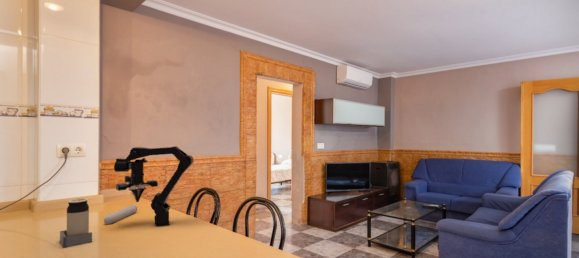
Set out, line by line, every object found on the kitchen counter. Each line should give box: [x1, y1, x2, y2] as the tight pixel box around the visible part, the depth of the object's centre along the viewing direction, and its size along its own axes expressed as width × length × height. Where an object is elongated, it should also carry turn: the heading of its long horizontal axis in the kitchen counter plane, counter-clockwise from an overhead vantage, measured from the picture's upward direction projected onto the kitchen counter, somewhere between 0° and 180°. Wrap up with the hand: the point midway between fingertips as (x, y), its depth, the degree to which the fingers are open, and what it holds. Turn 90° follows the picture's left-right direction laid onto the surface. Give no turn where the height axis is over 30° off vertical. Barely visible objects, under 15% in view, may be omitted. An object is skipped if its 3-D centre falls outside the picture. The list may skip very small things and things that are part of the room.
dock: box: [59, 229, 93, 249], centre depth 134 cm, size 10×12×4 cm
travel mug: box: [66, 197, 90, 237], centre depth 134 cm, size 8×8×18 cm
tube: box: [103, 204, 138, 225], centre depth 170 cm, size 5×5×25 cm
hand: (137, 201), depth 157 cm, fingers closed
